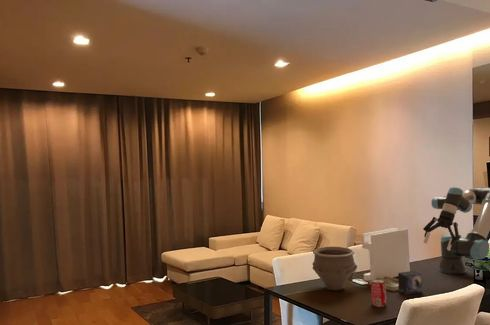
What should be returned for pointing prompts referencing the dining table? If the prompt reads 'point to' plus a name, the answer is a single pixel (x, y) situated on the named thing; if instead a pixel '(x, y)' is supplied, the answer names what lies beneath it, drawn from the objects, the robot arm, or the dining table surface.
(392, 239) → the block
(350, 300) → the dining table surface
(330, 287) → the planter
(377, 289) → the soda can
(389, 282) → the tray
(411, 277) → the small box
